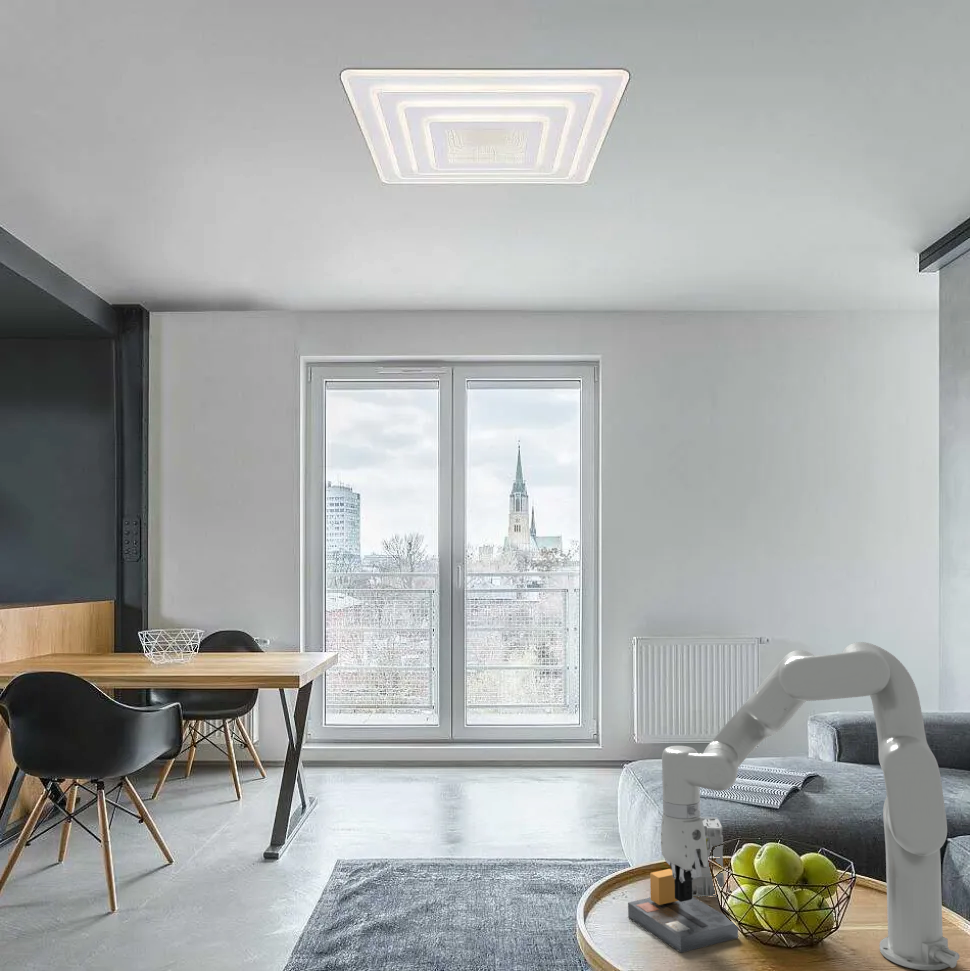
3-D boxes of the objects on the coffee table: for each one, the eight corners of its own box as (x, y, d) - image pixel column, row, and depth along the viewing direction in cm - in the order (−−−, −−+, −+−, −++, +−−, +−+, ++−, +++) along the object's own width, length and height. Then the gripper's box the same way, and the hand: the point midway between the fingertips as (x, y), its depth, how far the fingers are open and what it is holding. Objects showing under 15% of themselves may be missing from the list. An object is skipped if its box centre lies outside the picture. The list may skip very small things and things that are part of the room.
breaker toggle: (678, 900, 195) (678, 873, 196) (659, 905, 193) (658, 877, 193) (670, 895, 198) (669, 868, 198) (650, 899, 196) (650, 872, 196)
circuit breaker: (714, 872, 219) (713, 808, 220) (724, 897, 205) (722, 828, 206) (682, 871, 220) (681, 807, 220) (689, 896, 206) (688, 827, 206)
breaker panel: (738, 937, 185) (737, 922, 185) (681, 952, 179) (680, 936, 179) (682, 904, 201) (682, 889, 202) (628, 916, 195) (628, 902, 196)
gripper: (719, 816, 185) (722, 909, 185) (674, 796, 199) (676, 883, 198) (689, 821, 182) (691, 916, 182) (645, 801, 196) (647, 889, 195)
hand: (683, 899), depth 190 cm, fingers closed
